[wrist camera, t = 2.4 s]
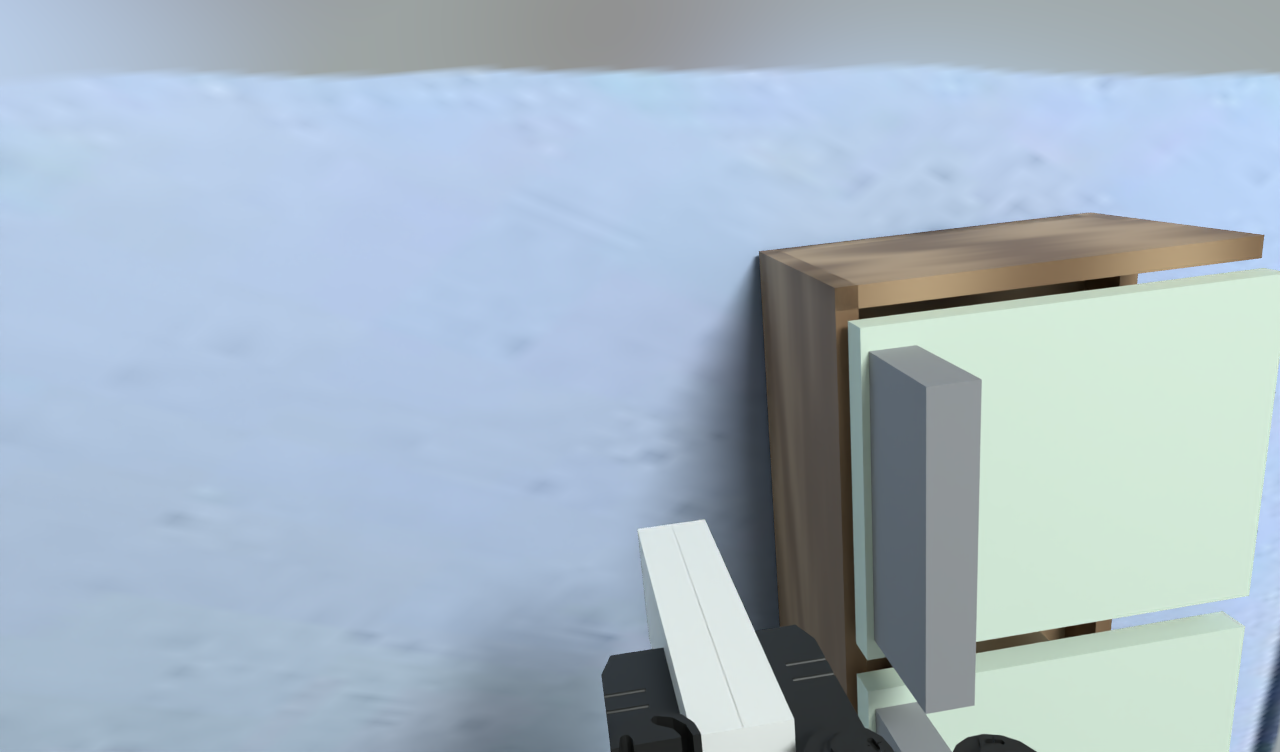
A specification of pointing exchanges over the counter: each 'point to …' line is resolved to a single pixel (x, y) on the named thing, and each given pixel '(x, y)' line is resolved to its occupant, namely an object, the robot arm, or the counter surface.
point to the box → (899, 284)
